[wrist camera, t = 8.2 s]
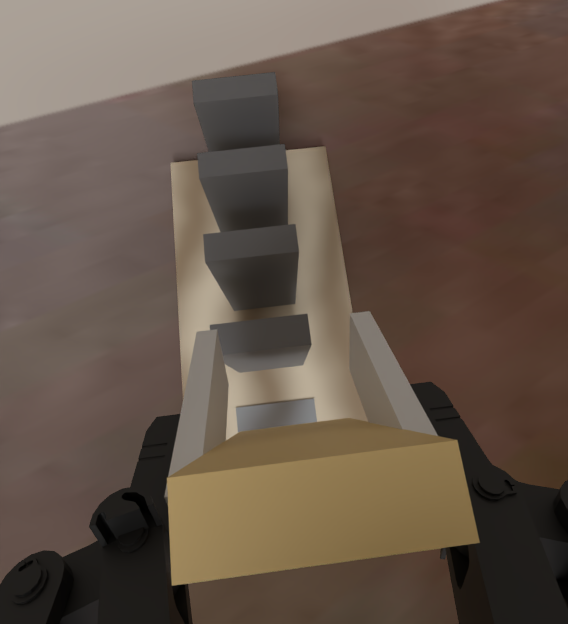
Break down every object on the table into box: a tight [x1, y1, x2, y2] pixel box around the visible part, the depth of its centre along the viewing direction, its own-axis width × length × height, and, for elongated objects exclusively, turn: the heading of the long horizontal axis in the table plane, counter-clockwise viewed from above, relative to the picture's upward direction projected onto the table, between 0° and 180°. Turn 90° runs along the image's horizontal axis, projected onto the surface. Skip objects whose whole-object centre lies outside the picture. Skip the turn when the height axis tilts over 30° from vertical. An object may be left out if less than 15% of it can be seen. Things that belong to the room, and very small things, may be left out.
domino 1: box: [192, 72, 280, 152], centre depth 28 cm, size 5×2×11 cm, turn 97°
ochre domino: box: [167, 418, 480, 586], centre depth 12 cm, size 5×2×11 cm, turn 97°
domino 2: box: [197, 144, 288, 232], centre depth 27 cm, size 5×2×11 cm, turn 97°
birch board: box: [171, 146, 368, 440], centre depth 31 cm, size 14×26×1 cm, turn 7°
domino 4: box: [210, 314, 312, 373], centre depth 24 cm, size 5×2×11 cm, turn 97°
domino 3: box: [203, 224, 299, 311], centre depth 25 cm, size 5×2×11 cm, turn 97°
